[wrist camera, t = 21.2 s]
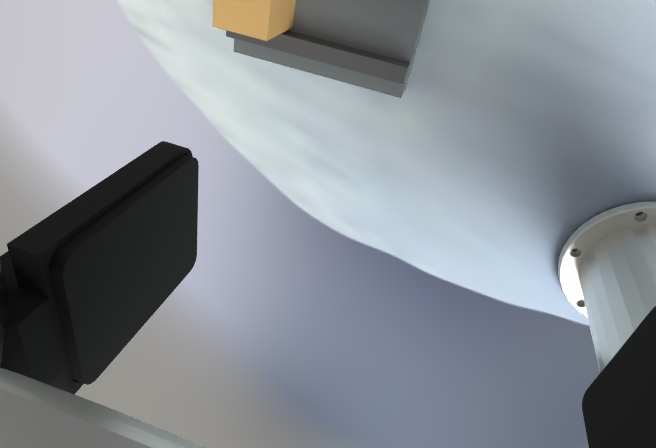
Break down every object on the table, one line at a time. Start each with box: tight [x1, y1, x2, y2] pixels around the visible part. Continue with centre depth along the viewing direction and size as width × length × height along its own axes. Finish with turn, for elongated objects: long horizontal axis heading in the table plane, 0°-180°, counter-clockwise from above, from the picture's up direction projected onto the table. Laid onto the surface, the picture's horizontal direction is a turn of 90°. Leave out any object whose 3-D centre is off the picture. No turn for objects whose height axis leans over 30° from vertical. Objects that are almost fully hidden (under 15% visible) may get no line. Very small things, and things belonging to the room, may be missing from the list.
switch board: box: [226, 0, 430, 98], centre depth 35 cm, size 14×10×4 cm
